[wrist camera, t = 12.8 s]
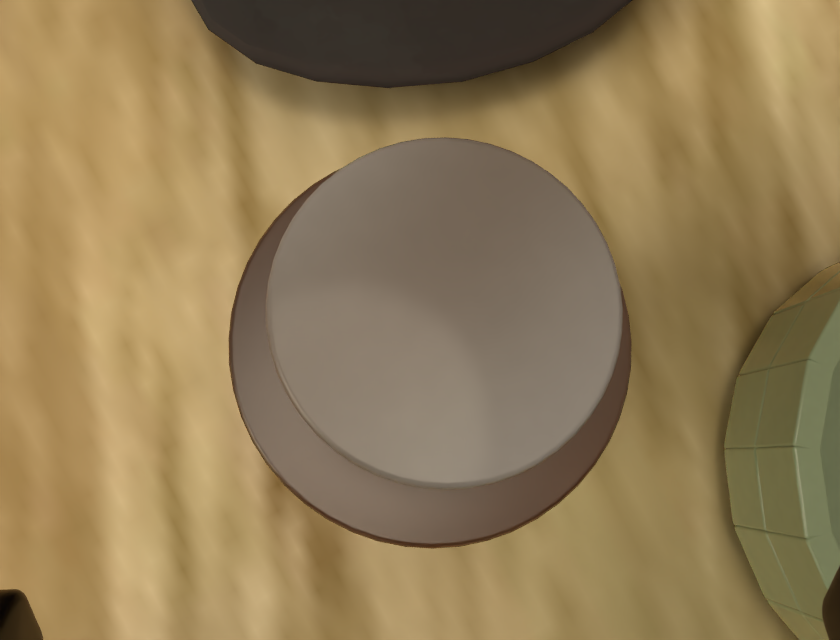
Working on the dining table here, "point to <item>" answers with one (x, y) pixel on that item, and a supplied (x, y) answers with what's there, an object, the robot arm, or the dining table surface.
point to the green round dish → (791, 454)
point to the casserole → (401, 35)
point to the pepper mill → (431, 344)
